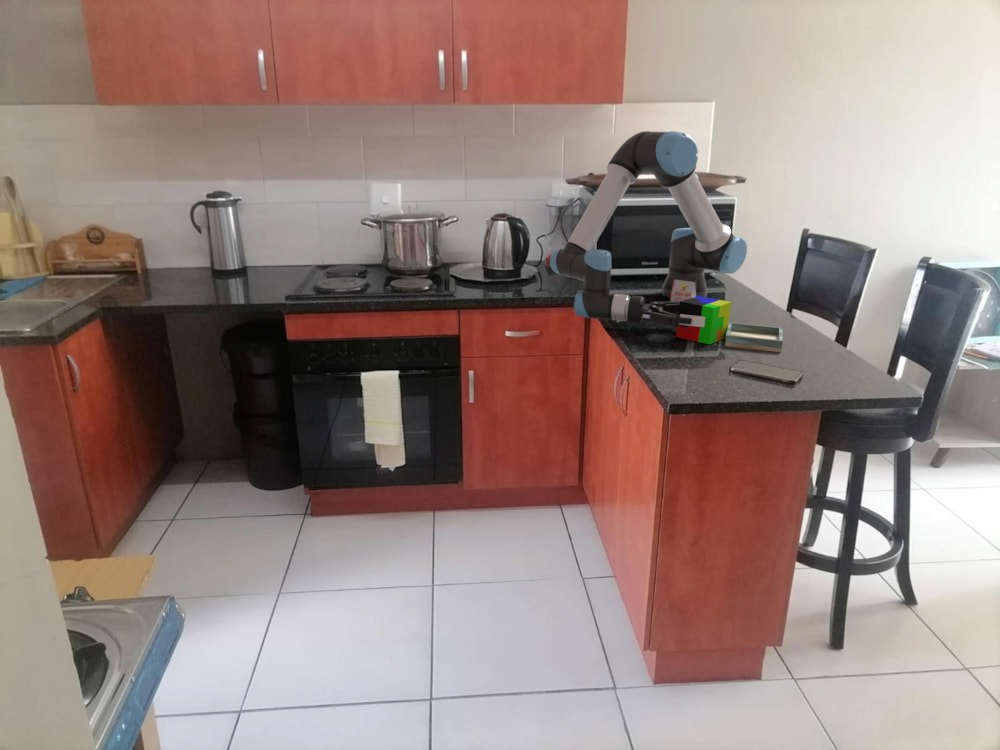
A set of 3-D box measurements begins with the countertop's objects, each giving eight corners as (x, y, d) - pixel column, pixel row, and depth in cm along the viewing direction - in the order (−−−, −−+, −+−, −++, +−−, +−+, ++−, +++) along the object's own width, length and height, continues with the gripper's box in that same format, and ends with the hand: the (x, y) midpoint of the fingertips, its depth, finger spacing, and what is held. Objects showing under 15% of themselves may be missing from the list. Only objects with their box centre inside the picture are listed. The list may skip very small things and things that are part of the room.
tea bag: (673, 309, 224) (676, 278, 221) (694, 312, 221) (697, 281, 217) (669, 311, 222) (671, 280, 218) (689, 315, 218) (692, 283, 214)
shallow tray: (727, 332, 199) (729, 322, 198) (780, 337, 195) (782, 327, 194) (724, 346, 187) (726, 335, 186) (781, 352, 182) (782, 341, 181)
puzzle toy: (694, 330, 201) (697, 296, 198) (726, 337, 195) (731, 302, 192) (676, 337, 194) (679, 301, 191) (709, 344, 188) (714, 307, 185)
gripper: (636, 311, 212) (709, 318, 205) (619, 332, 190) (701, 341, 183) (637, 287, 209) (712, 293, 202) (621, 305, 188) (704, 313, 181)
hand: (707, 316), depth 193 cm, fingers closed on puzzle toy, 12 cm apart
